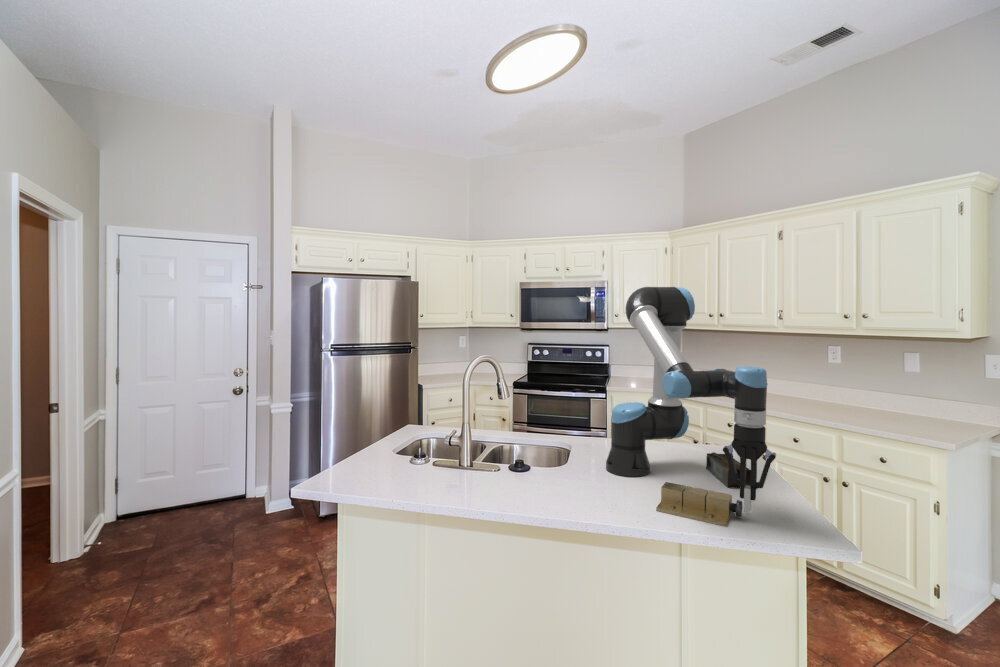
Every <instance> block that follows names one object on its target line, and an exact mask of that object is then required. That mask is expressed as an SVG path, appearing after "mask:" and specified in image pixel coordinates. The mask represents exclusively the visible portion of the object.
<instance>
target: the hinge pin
mask: <svg viewBox="0 0 1000 667" xmlns="http://www.w3.org/2000/svg"><path fill="white" fill-rule="evenodd" d="M743 510H744V501H743V500H739V499H737V500H736V502H732V503H731V502H730V508H729V511H730V512H732V513H735V517H736V518H742V517H743V516H742V515H743Z"/></svg>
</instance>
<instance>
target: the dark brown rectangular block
mask: <svg viewBox="0 0 1000 667" xmlns="http://www.w3.org/2000/svg"><path fill="white" fill-rule="evenodd" d="M734 462H735V466H736V470H737V475H738V479H740V461H738V460H737V459H735V458H734ZM705 466H706V467H705V469H706V470H707V471H708V472H709V473H710V474H711V475H712V476H714V477H715V478H716V479H717V480H718V481H720V482H721V483H722V484H723V485H724V486H725V487H727V488H728V489H729V488H730V489H740V486H739V485H737V484H734V483H733V482H732V477H731V473H730V469H729V465H728V460H727V456H726V455H725V453H717V452H714V451H713V452H709V453H706V464H705ZM745 485H747V486H750V485H751V468H749V467H747V466H746V484H745Z"/></svg>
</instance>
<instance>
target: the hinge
mask: <svg viewBox="0 0 1000 667" xmlns="http://www.w3.org/2000/svg"><path fill="white" fill-rule="evenodd" d="M660 490H661V491H660V493H661V494H660V495H661V496H660V497H661V498H660V502H659V504H658V505H657V506H656V510H655V511H656V512H660V513H663V514H669V515H674V516H678V517H681V518H682V517H683V518H687V519H690V520H696V521H700V522H703V523H709V524H713V525H716V526H722V527H727V525H728V523H729V520H730V517H731V515H732V513H733V512H730V511H729V508H730V502H731V503H733V502H732V500H733V495H732V494H731V493H726V492H725V493H724V492H721V491H720V492H719V491H715V490H710V489H706V488H705V489H704V488H700V487H694V486H688V485H685V484H684V485H682V484H680V483H679V484H678V483H673V482H668V481H665V482H664V484H663V485H662V486H661V489H660Z"/></svg>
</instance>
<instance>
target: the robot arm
mask: <svg viewBox="0 0 1000 667" xmlns="http://www.w3.org/2000/svg"><path fill="white" fill-rule="evenodd" d="M695 308H696V305H695V300H694V297H693V295H692V294H691V292H690V290H688V289H687V288H684V287H679V286H643V287H641V288H638V289H636V290H635V291H632V293H631V294H630V295H629V297H628V299H627V301H626V304H625V316H626V319H627V320H628V323H629V325H630V326H631V327H633V329H637V331H638V333H639V335H640V337H641V338H642V340H643V341H644V344H646V346H647V348H648V349H649V351H650V353H651V354H652V357H653V358H654V359H653V363H654V365H653V382H652V383H653V384H652V396H651V397H650V398H648V400H647V406H646V404H645V403H643V402H635V401H634V402H623V403H619V404H616V405H615V406H613V408H612V410H611V418H610V422H611V426H610V428H611V429H610V430H611V432H610V433H611V434H610V435H611V436H610V437H611V439H610V440H611V443H610V444H611V445H610V450H609V452H608V456H607V458H606V461H605V470H607V472H609V473H610V474H613V475H618V476H621V477H627V478H628V477H631V478H632V477H633V478H636V477H644V476H647V475H649V474H650V473H651V464H650V460H649V458H648V454H647V451H646V441H651V440H652V441H653V440H654V441H655V440H673V439H679V438H682V437H683V436H684V435H685V434H686V433H687V430H688V428H689V423H690V422H689V421H690V418H689V415H688V410H687V408H686V407H684V406H683V401H681V400H680V399H682V400H683V399H691V398H715V397H716V398H720V397H723V398H724V397H725V398H730V399H733V400H734V416H733V421H734V425H733V440H732V441H731V444H729V445H725V446H724V447H723V448H722V452H723V454H725V455H726V456H727V460H728V465H729V469H730V473H731V477H732V482H733V483H734V484H737V485H739V486H740V488H739V498H740V499H741V500H742V499H743V512H744V513H746V514H751V511H752V501H753V502H754V501H756V498H757V489H763V488H764V485H765V482H766V479H767V477H768V474H769V470H770V468H771V465H772V463H773V462H774V460H776V457H777V453H776V452H773V451H770V450H769V449H768V445H767V444H766V427H765V425H766V422H767V393H768V390H767V389H768V373H767V370H766V369H765V368H763V367H758V366H745V365H744V366H742V365H741V366H738V367H736V368H735V371H734V370H729V369H725V368H711V369H710V370H694V369H693V368H692V366H691V365H690V363H689V362H688V361H687V359H686V358H685V355H684V354H683V353H682V352H681V348H682V347H681V346H682V345H681V344H682V331H683V330H684V329H685V328H686V327H687V322H688V321H690V320H692V318H693V316H694V315H695V310H696V309H695ZM734 451H735V453H736V454H737V455H738V457H739V462H740V479H738V475H737V470H736V466H735V462H734V459H735V458H734V455H733V453H734ZM764 454H765V456H764V457H765V459H766V461H765V462H764V463H765V464H764V466H763V470H762V472H761V475H760V478H759V481H757V478H758V477H757V476H758V460H759V459H760V458H761V457H762V456H763V455H764ZM747 460H750V470H751V485H750V486H747V485H745V484H746V467H747Z"/></svg>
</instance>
